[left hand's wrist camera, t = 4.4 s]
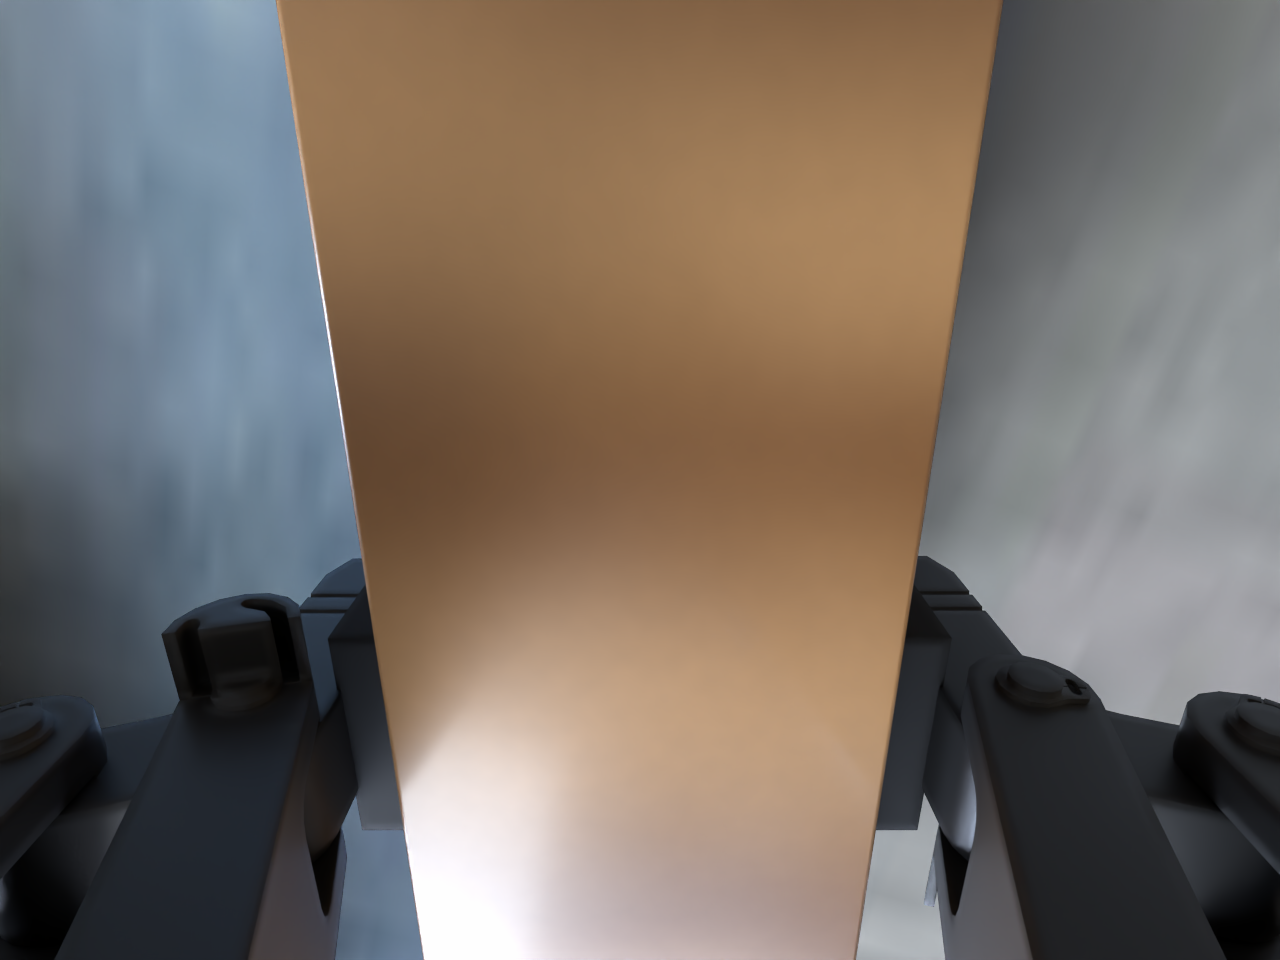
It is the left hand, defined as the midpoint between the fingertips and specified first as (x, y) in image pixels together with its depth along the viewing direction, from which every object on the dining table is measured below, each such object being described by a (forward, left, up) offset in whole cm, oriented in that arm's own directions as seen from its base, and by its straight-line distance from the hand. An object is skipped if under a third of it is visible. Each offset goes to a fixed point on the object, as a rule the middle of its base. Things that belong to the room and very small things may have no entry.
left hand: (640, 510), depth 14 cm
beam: (+25, 0, -1) cm, 25 cm away
